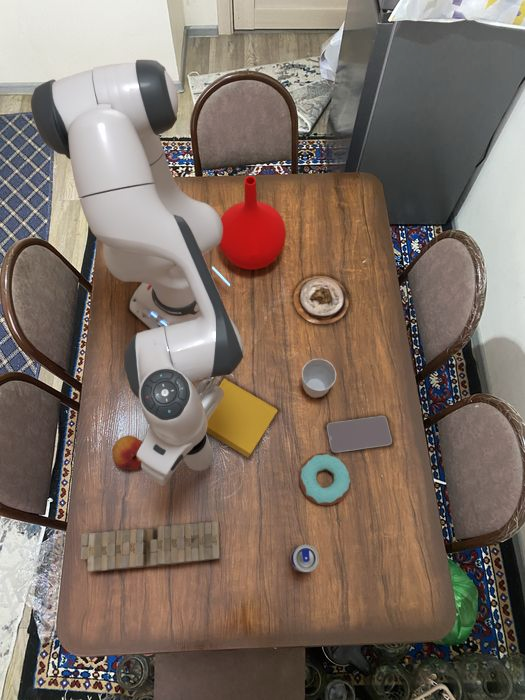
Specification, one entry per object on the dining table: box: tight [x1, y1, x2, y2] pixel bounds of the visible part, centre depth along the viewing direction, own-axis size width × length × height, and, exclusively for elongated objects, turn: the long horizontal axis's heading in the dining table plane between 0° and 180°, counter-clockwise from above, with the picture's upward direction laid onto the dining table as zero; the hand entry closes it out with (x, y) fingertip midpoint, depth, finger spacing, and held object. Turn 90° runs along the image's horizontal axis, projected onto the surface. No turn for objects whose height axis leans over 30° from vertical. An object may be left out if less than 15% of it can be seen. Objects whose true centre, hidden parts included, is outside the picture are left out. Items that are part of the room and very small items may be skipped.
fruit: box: [111, 435, 143, 470], centre depth 121 cm, size 8×8×8 cm
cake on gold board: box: [293, 275, 349, 325], centre depth 140 cm, size 15×15×4 cm
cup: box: [301, 358, 337, 398], centre depth 127 cm, size 8×8×10 cm
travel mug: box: [183, 433, 214, 472], centre depth 105 cm, size 6×7×20 cm
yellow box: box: [206, 378, 279, 459], centre depth 128 cm, size 16×14×1 cm
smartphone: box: [326, 415, 393, 454], centre depth 126 cm, size 7×1×15 cm
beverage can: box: [289, 544, 320, 573], centre depth 109 cm, size 5×5×15 cm
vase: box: [218, 175, 287, 271], centre depth 134 cm, size 18×18×30 cm
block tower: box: [80, 520, 221, 572], centre depth 113 cm, size 8×8×29 cm
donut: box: [298, 452, 352, 506], centre depth 121 cm, size 12×12×4 cm
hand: (190, 440), depth 100 cm, fingers closed on travel mug, 6 cm apart
